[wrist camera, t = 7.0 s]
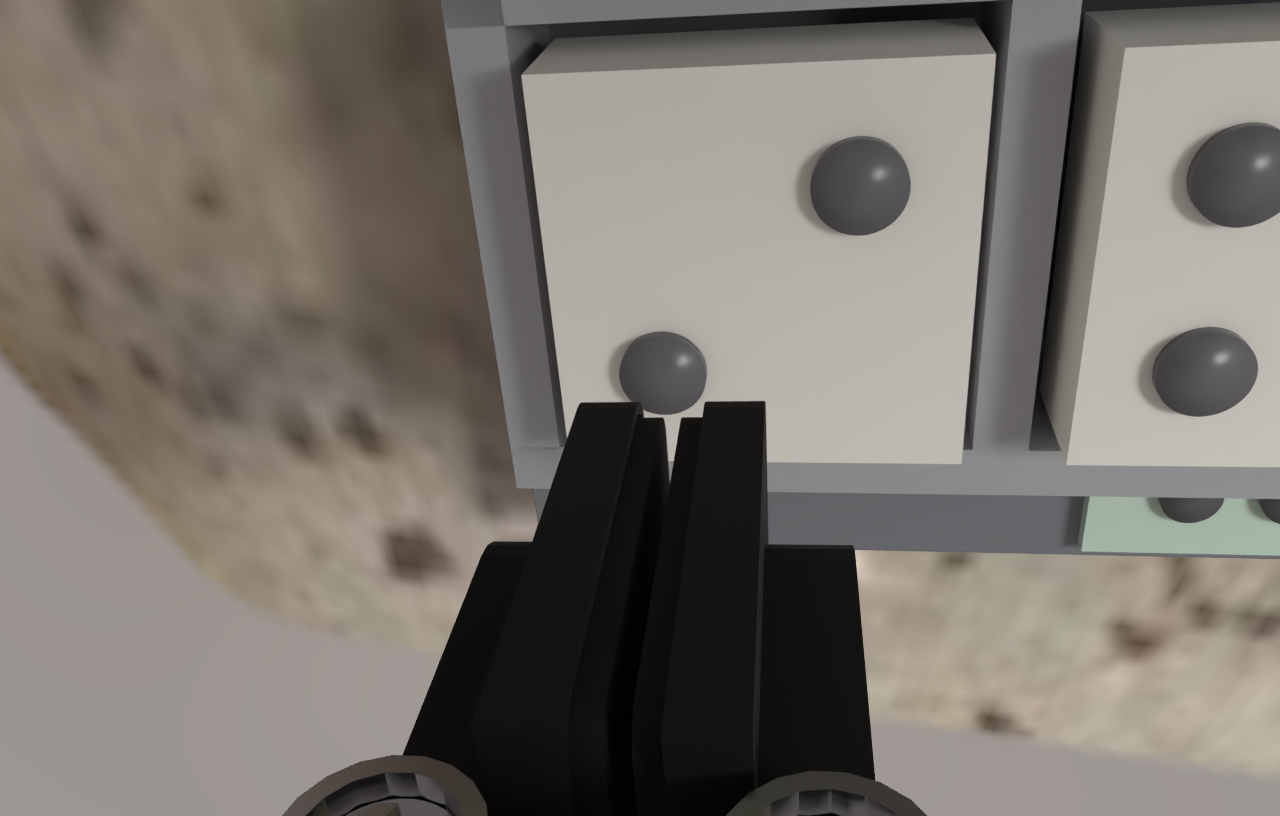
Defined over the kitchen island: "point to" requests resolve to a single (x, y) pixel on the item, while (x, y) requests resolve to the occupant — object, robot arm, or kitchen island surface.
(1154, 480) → the keypad
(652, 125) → the key two dots
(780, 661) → the robot arm
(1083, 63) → the key four dots
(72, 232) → the kitchen island surface
